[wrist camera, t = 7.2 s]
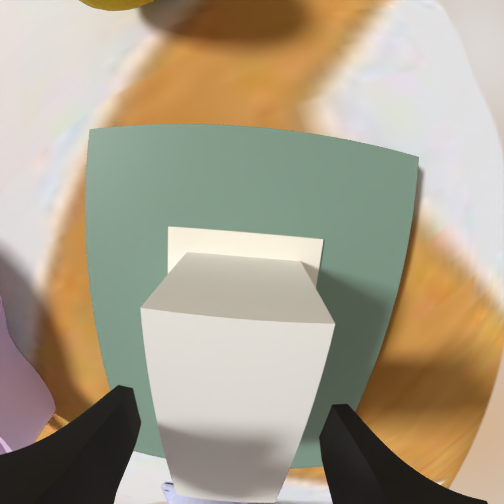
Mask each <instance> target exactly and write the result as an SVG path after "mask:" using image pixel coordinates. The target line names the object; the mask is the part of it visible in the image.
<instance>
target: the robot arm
mask: <svg viewBox="0 0 504 504" xmlns="http://www.w3.org/2000/svg"><path fill="white" fill-rule="evenodd" d="M141 423H142V422H141V419H140V415H139V411H138V407H137V403H136V399H135V394H134V390H133V388H130V387H126V386H122V385H117V386H116V387H115V388H114V389H112V390H111V391H110V392H109V393H107V394H106V395H105V396H104V397H103V398H101V399H100V400H99V401H98V402H97V403H95V404H94V405H93V406H92V407H90V408H89V409H88V410H87V411H85V412H84V413H83V414H81V415H80V416H79V417H77V418H76V419H75V420H73V421H72V422H70V423H69V424H67V425H66V426H64V427H63V428H61V429H60V430H58V431H57V432H55V433H53V434H51V435H50V436H48V437H46V438H44V439H42V440H40V441H38V442H36V443H33V444H31V445H29V446H26V447H24V448H21V449H18V450H15V451H12V452H9V453H5V454H1V455H0V504H114V500H115V496H116V492H117V489H118V486H119V484H120V481H121V479H122V477H123V474H124V472H125V469H126V467H127V464H128V462H129V460H130V457H131V455H132V452H133V450H134V448H135V445H136V442H137V438H138V435H139V431H140V427H141ZM319 441H320V451H321V458H322V463H323V467H324V471H325V475H326V479H327V483H328V486H329V490H330V494H331V498H332V502H333V504H488V503H487V501H484V500H480V499H476V498H472V497H468V496H465V495H462V494H459V493H456V492H454V491H452V490H449V489H447V488H445V487H443V486H441V485H439V484H437V483H435V482H433V481H432V480H430V479H428V478H426V477H425V476H423V475H422V474H420V473H419V472H417V471H416V470H414V469H413V468H412V467H410V466H409V465H407V464H406V463H405V462H404V461H402V460H401V459H400V458H399V457H398V456H397V455H395V454H394V453H393V452H392V451H391V450H390V449H389V448H388V447H387V446H386V445H385V444H384V443H383V442H382V441H381V440H380V439H379V438H378V437H377V436H376V435H375V434H374V433H373V432H372V431H371V430H370V429H369V427H368V426H367V425H366V424H365V423H364V422H363V421H362V420H361V418H360V417H359V416H358V415H357V414H356V413H355V412H354V410H353V409H352V408H351V407H350V406H349V405H348V404H333V405H332V406H331V409H330V411H329V414H328V417H327V419H326V422H325V424H324V427H323V429H322V431H321V434H320V436H319ZM161 489H162V491H163V493H164V496H165V498H166V500H167V503H168V504H248V503H247V502H229V501H217V500H208V499H200V498H193V497H187V496H181V495H177V493H176V490H175V487H174V485H171V484H165V483H163V484H161Z"/></svg>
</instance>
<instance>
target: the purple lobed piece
mask: <svg viewBox="0 0 504 504" xmlns="http://www.w3.org/2000/svg"><path fill="white" fill-rule="evenodd" d="M55 411H56V407H55V402H54V399H53V397H52V395H51V393H50V391H49V389H48V387H47V386H46V384H45V383H44V381H43V380H42V378H41V377H40V375H39V374H38V373H37V371H36V370H35V369H34V368H33V367H32V365H31V364H30V363H29V362H28V361H27V360H26V359H25V358H24V357H23V355H22V354H21V353H20V352H19V350H18V349H17V347H16V346H15V344H14V342H13V340H12V338H11V336H10V334H9V331H8V327H7V322H6V316H5V311H4V306H3V302H2V298H1V295H0V455H1V454H5V453H9V452H12V451H15V450H18V449H21V448H24V447H26V446H29V445H31V444H33V443H34V442H35V441H36V439H37V438H38V436H39V435H40V433H41V432H42V430H43V429H44V427H45V426H46V424H47V423H48V421H49V420H50V418H51V417H52V416H53V414H54V413H55Z"/></svg>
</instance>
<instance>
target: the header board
mask: <svg viewBox="0 0 504 504" xmlns="http://www.w3.org/2000/svg"><path fill="white" fill-rule="evenodd" d="M418 161H419V157H417V156H413V155H410V154H406V153H403V152H399V151H395V150H391V149H387V148H383V147H379V146H374V145H370V144H365V143H361V142H356V141H351V140H346V139H340V138H335V137H329V136H323V135H317V134H311V133H304V132H296V131H288V130H280V129H271V128H260V127H248V126H233V125H211V124H155V125H134V126H120V127H108V128H98V129H90V132H89V141H88V152H87V165H86V186H85V228H86V249H87V263H88V274H89V283H90V292H91V299H92V306H93V313H94V319H95V325H96V330H97V336H98V341H99V345H100V350H101V355H102V359H103V363H104V367H105V371H106V375H107V379H108V383H109V386H110V390H112V389H114V388H115V387H116V386H117V385H122V386H126V387H130V388H133V390H134V394H135V399H136V403H137V407H138V411H139V415H140V419H141V422H142V423H141V427H140V431H139V435H138V438H137V442H136V445H135V448H134V450H133V451H136V452H140V453H144V454H148V455H152V456H157V457H161V458H166V456H165V453H164V449H163V445H162V441H161V437H160V432H159V428H158V424H157V419H156V414H155V409H154V404H153V399H152V393H151V388H150V382H149V376H148V369H147V363H146V355H145V348H144V339H143V330H142V321H141V309H140V307H141V306H142V305H143V304H144V302H145V301H146V300H147V299H148V298H149V296H150V295H151V294H152V293H153V292H154V290H155V289H156V288H157V287H158V285H159V284H160V283H161V282H162V281H163V279H164V278H165V277H166V276H167V275H168V274H169V272H170V271H171V270H172V269H173V268H174V266H175V265H176V264H177V263H178V262H179V261H180V259H181V258H182V257H183V256H184V255H185V254H186V252H196V253H208V254H220V255H232V256H244V257H256V258H269V259H281V260H293V261H300V262H301V263H302V265H303V267H304V269H305V270H306V272H307V274H308V276H309V277H310V279H311V281H312V283H313V284H314V286H315V288H316V290H317V292H318V293H319V295H320V297H321V299H322V301H323V302H324V304H325V306H326V308H327V310H328V311H329V313H330V315H331V317H332V319H333V321H334V322H335V327H334V331H333V335H332V339H331V343H330V347H329V351H328V355H327V358H326V362H325V366H324V369H323V373H322V376H321V380H320V383H319V386H318V390H317V393H316V396H315V399H314V403H313V406H312V409H311V412H310V415H309V418H308V421H307V424H306V426H305V429H304V432H303V435H302V438H301V440H300V443H299V446H298V448H297V451H296V454H295V456H294V459H293V461H292V464H291V466H290V469H293V468H310V467H322V466H323V463H322V458H321V451H320V441H319V436H320V434H321V431H322V429H323V427H324V424H325V422H326V419H327V417H328V414H329V411H330V409H331V406H332V405H333V404H348V405H349V406H350V407H351V408H352V409H353V410H354V412H355V411H356V409H357V407H358V405H359V402H360V400H361V398H362V395H363V393H364V391H365V388H366V386H367V383H368V381H369V378H370V376H371V373H372V371H373V368H374V365H375V363H376V360H377V357H378V354H379V352H380V349H381V346H382V343H383V340H384V337H385V334H386V331H387V327H388V324H389V321H390V317H391V314H392V310H393V307H394V303H395V300H396V296H397V292H398V288H399V284H400V280H401V276H402V271H403V267H404V262H405V257H406V252H407V247H408V242H409V236H410V230H411V224H412V217H413V210H414V203H415V194H416V185H417V174H418Z"/></svg>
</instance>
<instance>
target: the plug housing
mask: <svg viewBox="0 0 504 504" xmlns="http://www.w3.org/2000/svg"><path fill="white" fill-rule="evenodd" d="M140 309H141V321H142V330H143V339H144V348H145V355H146V363H147V369H148V376H149V382H150V388H151V393H152V399H153V404H154V409H155V414H156V419H157V424H158V428H159V432H160V437H161V441H162V445H163V449H164V453H165V456H166V460H167V464H168V467H169V471H170V474H171V478H172V481H173V484H174V487H175V490H176V493H177V495H181V496H187V497H193V498H200V499H208V500H217V501H229V502H247V503H275V501H276V499H277V497H278V494H279V492H280V490H281V488H282V485H283V483H284V481H285V478H286V476H287V474H288V471H289V469H290V466H291V464H292V461H293V459H294V456H295V454H296V451H297V448H298V446H299V443H300V440H301V438H302V435H303V432H304V429H305V426H306V424H307V421H308V418H309V415H310V412H311V409H312V406H313V403H314V399H315V396H316V393H317V390H318V386H319V383H320V380H321V376H322V373H323V369H324V366H325V362H326V358H327V355H328V351H329V347H330V343H331V339H332V335H333V331H334V327H335V322H334V321H333V319H332V317H331V315H330V313H329V311H328V310H327V308H326V306H325V304H324V302H323V301H322V299H321V297H320V295H319V293H318V292H317V290H316V288H315V286H314V284H313V283H312V281H311V279H310V277H309V276H308V274H307V272H306V270H305V269H304V267H303V265H302V263H301V262H300V261H293V260H281V259H269V258H256V257H244V256H232V255H220V254H208V253H196V252H186V254H185V255H184V256H183V257H182V258H181V259H180V261H179V262H178V263H177V264H176V265H175V266H174V268H173V269H172V270H171V271H170V272H169V274H168V275H167V276H166V277H165V278H164V279H163V281H162V282H161V283H160V284H159V285H158V287H157V288H156V289H155V290H154V292H153V293H152V294H151V295H150V296H149V298H148V299H147V300H146V301H145V302H144V304H143V305H142V306H141V307H140Z"/></svg>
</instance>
